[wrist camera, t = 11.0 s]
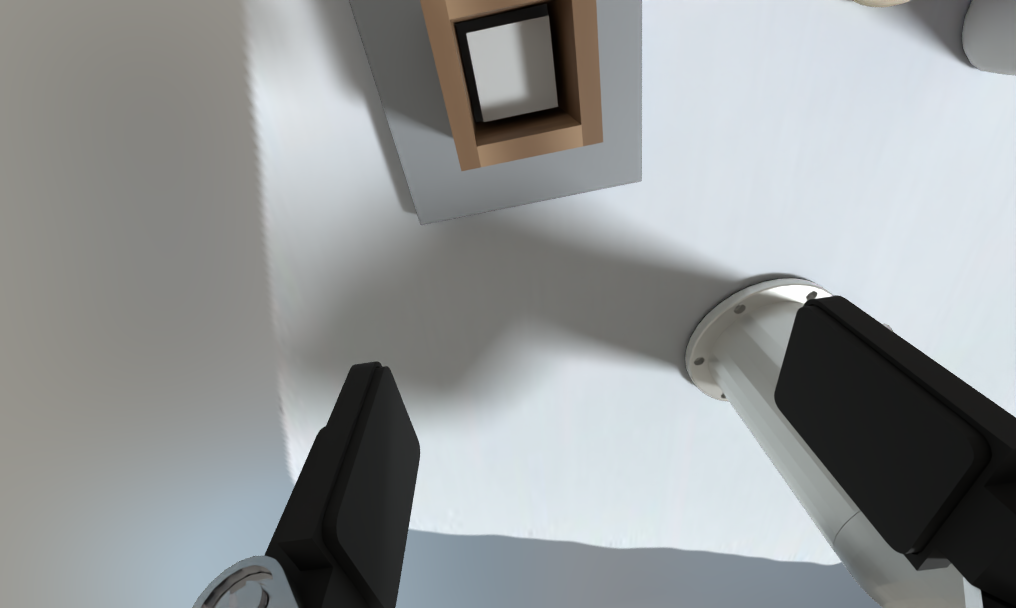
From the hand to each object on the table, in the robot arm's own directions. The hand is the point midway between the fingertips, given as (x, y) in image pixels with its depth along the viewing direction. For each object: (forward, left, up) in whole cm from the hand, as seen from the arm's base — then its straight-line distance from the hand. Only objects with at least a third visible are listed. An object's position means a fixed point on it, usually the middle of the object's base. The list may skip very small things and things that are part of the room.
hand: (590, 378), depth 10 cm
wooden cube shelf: (0, -5, -18) cm, 19 cm away
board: (0, -5, -19) cm, 20 cm away
